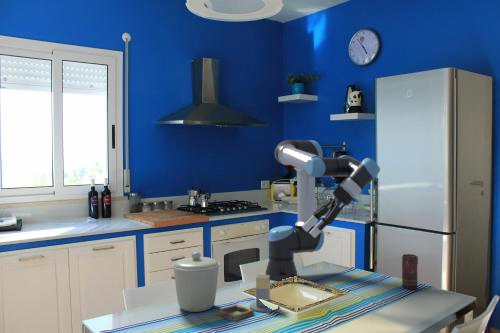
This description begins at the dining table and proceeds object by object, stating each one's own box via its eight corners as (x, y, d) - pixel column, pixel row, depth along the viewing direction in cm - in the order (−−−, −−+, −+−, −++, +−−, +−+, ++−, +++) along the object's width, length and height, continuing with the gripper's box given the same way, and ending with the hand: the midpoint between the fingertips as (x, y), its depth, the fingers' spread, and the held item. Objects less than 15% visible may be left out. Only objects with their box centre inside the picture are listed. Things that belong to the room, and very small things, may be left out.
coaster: (243, 307, 165) (243, 305, 165) (263, 300, 173) (263, 299, 173) (264, 314, 157) (264, 312, 157) (285, 307, 165) (285, 305, 165)
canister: (213, 317, 155) (212, 258, 154) (164, 314, 158) (164, 256, 158) (226, 301, 172) (225, 247, 172) (182, 298, 176) (181, 246, 176)
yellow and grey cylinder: (256, 307, 163) (256, 277, 163) (258, 303, 168) (257, 274, 168) (268, 307, 162) (268, 278, 162) (270, 303, 167) (269, 275, 167)
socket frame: (216, 314, 157) (216, 310, 157) (236, 308, 164) (236, 304, 164) (234, 321, 151) (234, 317, 151) (253, 314, 157) (253, 310, 157)
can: (420, 290, 185) (420, 256, 185) (405, 290, 185) (404, 256, 185) (415, 285, 191) (414, 253, 191) (400, 285, 191) (400, 253, 191)
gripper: (364, 202, 155) (323, 245, 154) (343, 196, 180) (307, 233, 179) (349, 187, 155) (307, 230, 154) (331, 183, 180) (295, 221, 179)
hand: (307, 232), depth 166 cm, fingers open, 13 cm apart
